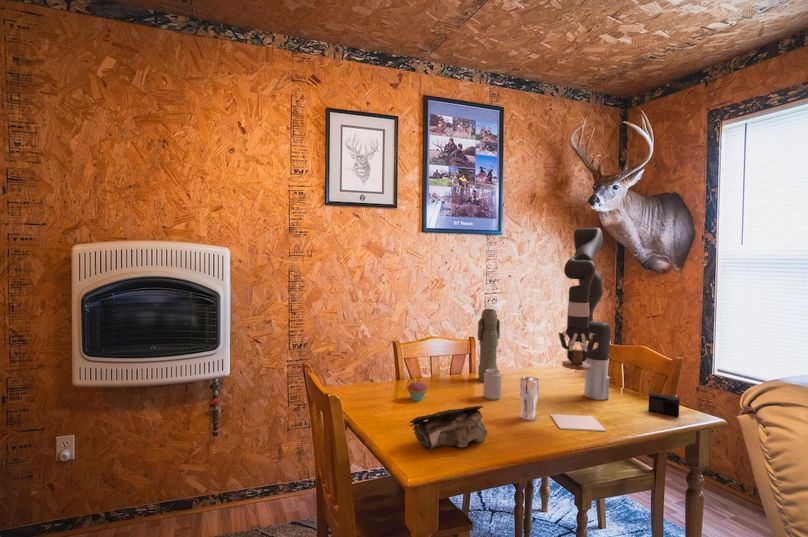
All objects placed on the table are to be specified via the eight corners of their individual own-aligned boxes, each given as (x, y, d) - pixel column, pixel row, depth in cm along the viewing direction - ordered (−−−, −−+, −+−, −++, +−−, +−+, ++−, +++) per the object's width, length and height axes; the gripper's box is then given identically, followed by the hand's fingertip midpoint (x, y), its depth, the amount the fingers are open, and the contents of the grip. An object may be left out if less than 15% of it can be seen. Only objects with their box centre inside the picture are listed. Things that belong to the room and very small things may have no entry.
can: (501, 401, 192) (501, 373, 191) (483, 399, 193) (483, 371, 193) (500, 395, 199) (501, 368, 198) (483, 394, 200) (484, 367, 200)
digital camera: (647, 412, 181) (648, 395, 181) (649, 409, 186) (650, 392, 186) (677, 418, 175) (678, 400, 175) (679, 414, 180) (679, 397, 180)
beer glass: (538, 416, 174) (539, 377, 174) (537, 422, 168) (538, 382, 167) (519, 413, 177) (521, 375, 176) (518, 419, 170) (519, 380, 170)
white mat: (592, 417, 174) (592, 416, 174) (606, 431, 160) (606, 430, 160) (550, 415, 175) (550, 414, 175) (559, 429, 162) (559, 427, 162)
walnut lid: (585, 363, 172) (586, 348, 172) (595, 370, 162) (596, 353, 162) (559, 362, 173) (559, 347, 172) (566, 369, 163) (567, 352, 163)
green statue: (502, 380, 223) (504, 310, 222) (484, 384, 217) (486, 311, 216) (490, 376, 231) (492, 308, 230) (472, 379, 224) (474, 309, 223)
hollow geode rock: (411, 467, 140) (426, 445, 130) (399, 428, 148) (412, 405, 138) (486, 449, 152) (506, 429, 142) (471, 414, 160) (489, 392, 150)
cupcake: (404, 400, 189) (404, 372, 189) (411, 395, 197) (412, 367, 197) (423, 403, 186) (424, 374, 185) (430, 397, 194) (430, 370, 193)
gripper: (594, 313, 170) (593, 359, 171) (555, 312, 171) (554, 357, 172) (601, 316, 163) (600, 364, 163) (561, 315, 164) (559, 362, 164)
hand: (576, 360), depth 167 cm, fingers closed on walnut lid, 4 cm apart
